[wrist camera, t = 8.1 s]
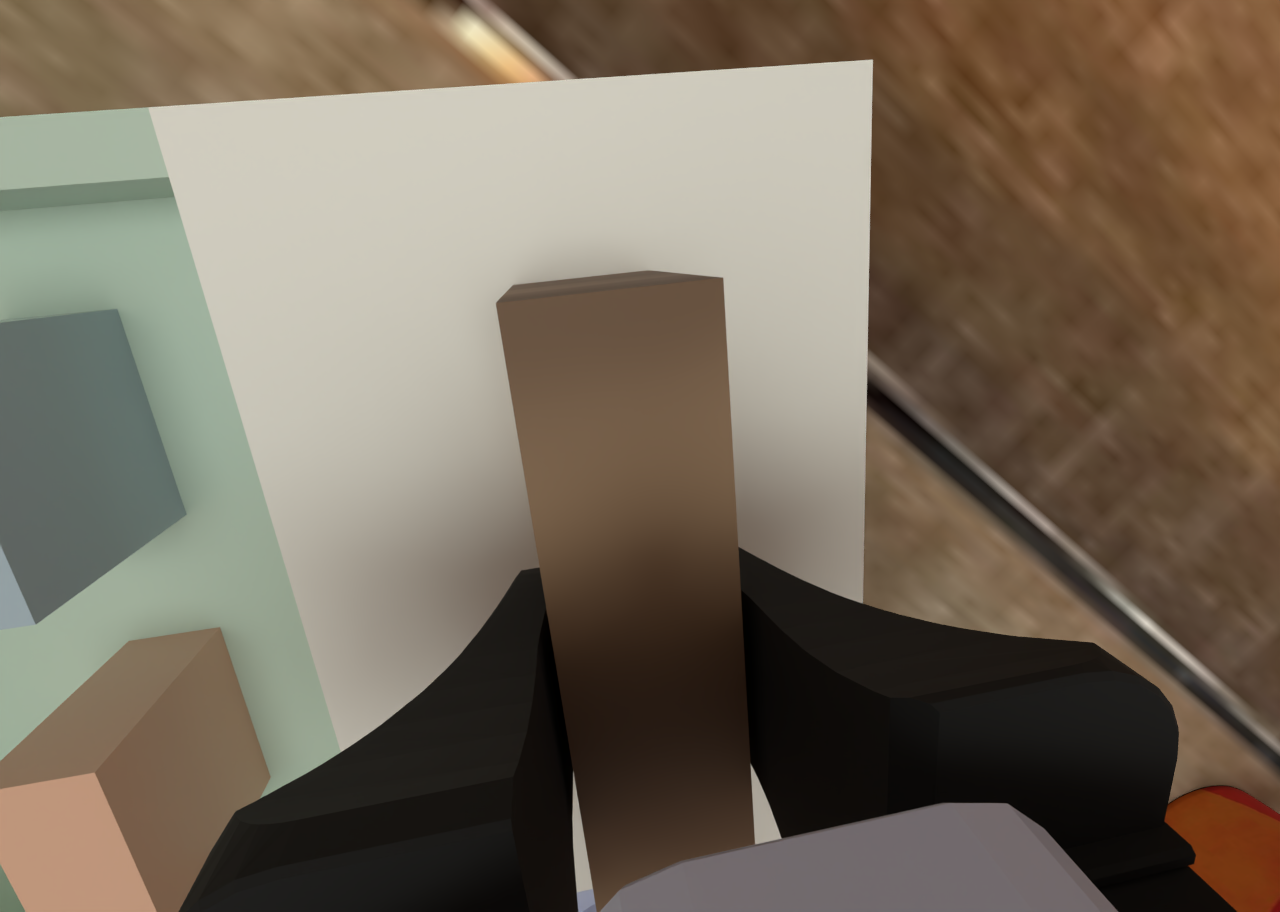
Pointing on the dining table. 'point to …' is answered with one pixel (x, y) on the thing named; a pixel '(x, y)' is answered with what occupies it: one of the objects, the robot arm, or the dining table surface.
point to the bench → (470, 333)
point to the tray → (188, 426)
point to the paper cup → (1232, 845)
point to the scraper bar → (637, 557)
